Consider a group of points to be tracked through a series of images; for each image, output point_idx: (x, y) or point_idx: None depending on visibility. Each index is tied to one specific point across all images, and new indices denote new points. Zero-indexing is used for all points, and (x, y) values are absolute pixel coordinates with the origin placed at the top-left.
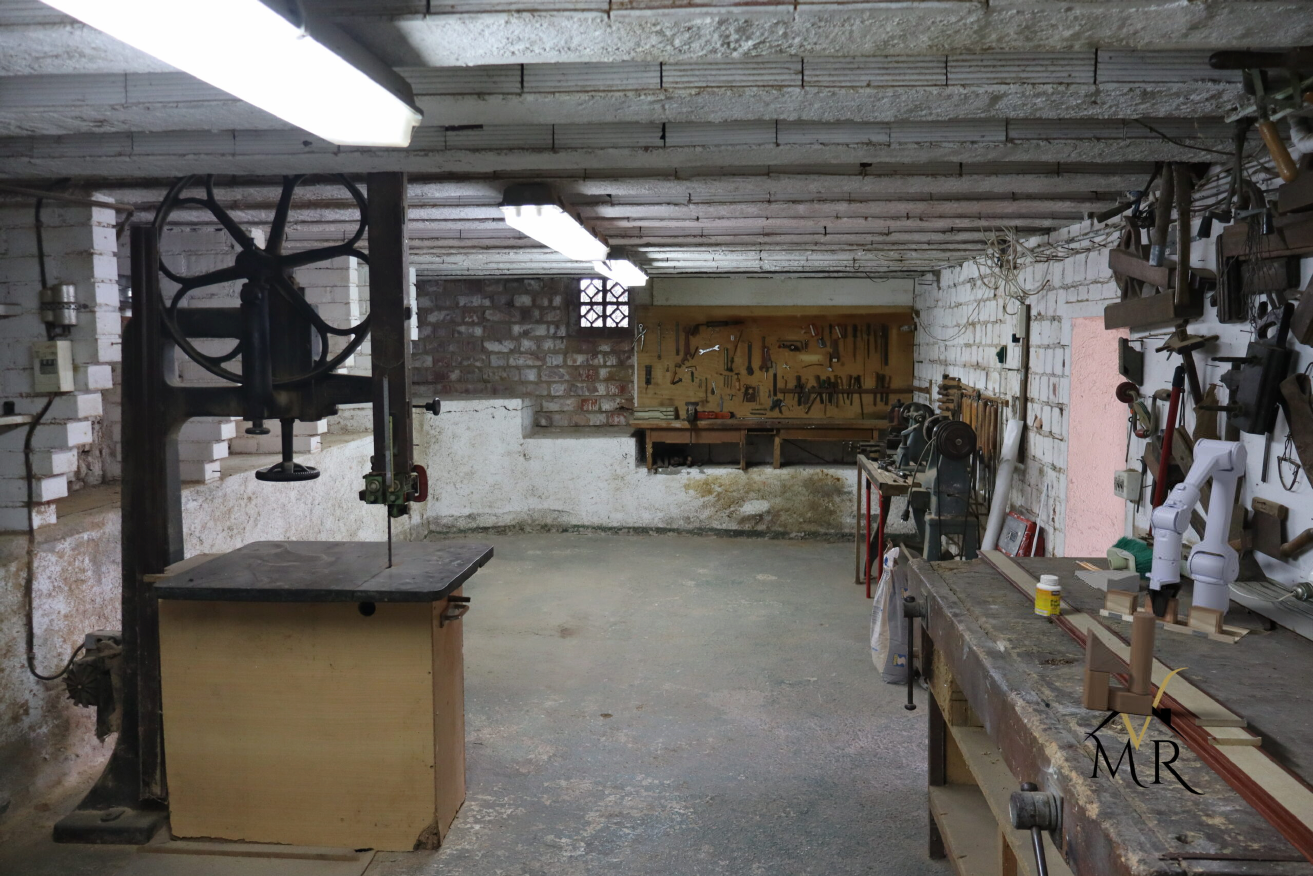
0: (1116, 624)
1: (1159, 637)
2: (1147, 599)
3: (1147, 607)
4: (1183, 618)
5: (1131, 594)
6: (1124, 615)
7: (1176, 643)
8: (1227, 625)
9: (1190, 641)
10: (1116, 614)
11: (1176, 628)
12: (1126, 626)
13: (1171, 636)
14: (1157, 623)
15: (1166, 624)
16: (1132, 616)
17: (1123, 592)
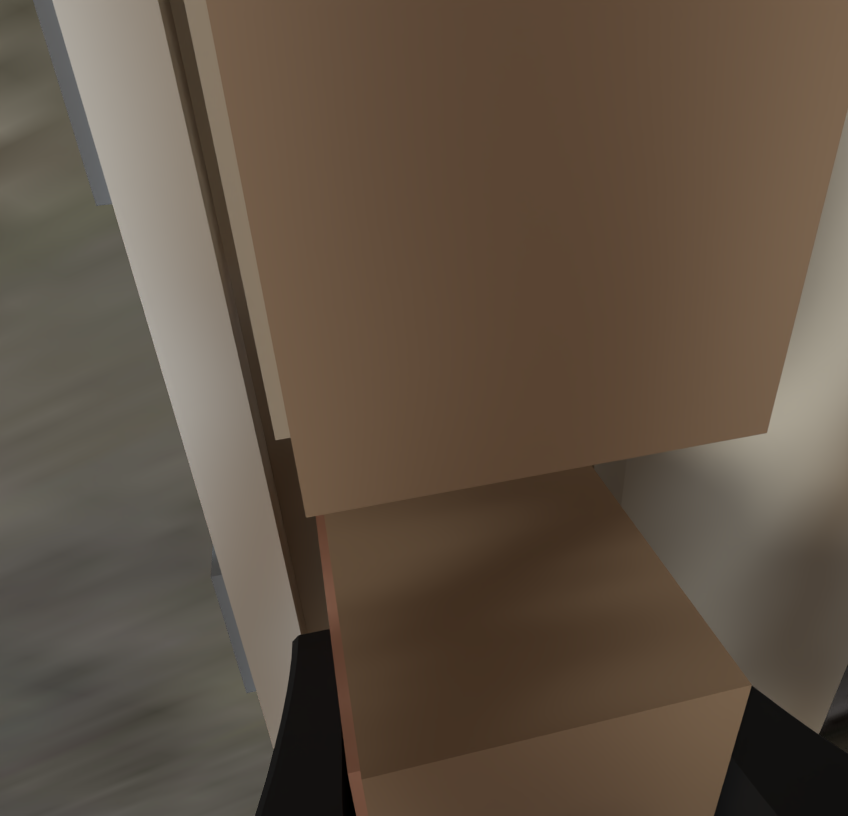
0: (52, 111)
1: (72, 649)
2: (350, 766)
3: (334, 630)
4: (823, 546)
5: (570, 370)
6: (131, 246)
7: (48, 777)
8: None
9: (243, 774)
10: (70, 92)
11: None
12: (113, 261)
13: (237, 667)
14: (234, 640)
15: (262, 709)
16: (172, 376)
17: (657, 81)
